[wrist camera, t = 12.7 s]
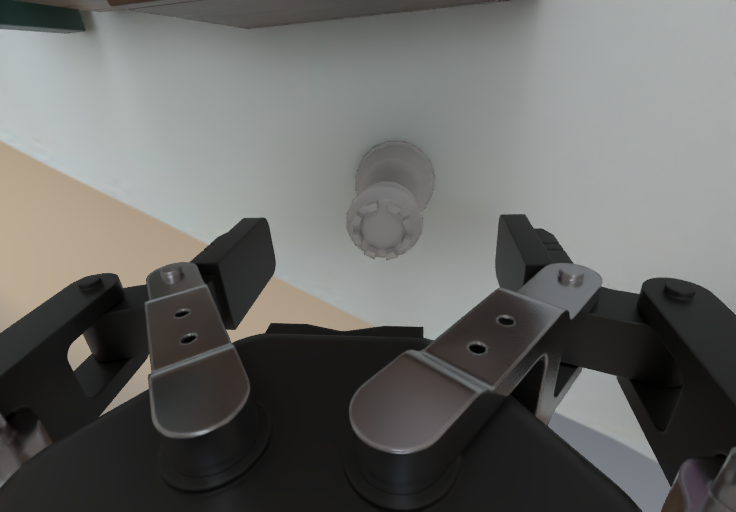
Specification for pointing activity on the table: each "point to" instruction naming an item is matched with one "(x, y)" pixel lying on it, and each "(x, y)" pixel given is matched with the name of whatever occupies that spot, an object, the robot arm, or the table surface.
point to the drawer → (48, 14)
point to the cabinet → (280, 9)
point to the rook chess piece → (390, 199)
